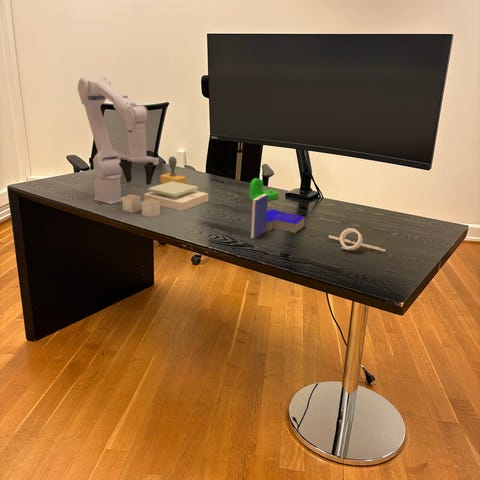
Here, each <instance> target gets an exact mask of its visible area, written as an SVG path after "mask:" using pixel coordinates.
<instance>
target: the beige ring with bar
mask: <svg viewBox="0 0 480 480" xmlns="http://www.w3.org/2000/svg"><path fill="white" fill-rule="evenodd" d="M350 233H355V234H357V236H358V237H357V239H358V240H357V242H356V241H354V240H353V241H351V240H350V239H347V238H346V236H347V235H348V234H350ZM328 238H329V239H333V240H336V241H339V243H340V244H341V247H340V248H341V249H344V250H347V251H355V250H357V249H359V248H360V247H365V248H367V249H373V250H377V251H378V250H379V251H380V252H383V253H385V252H386V249H384V248H380V247H379V246H374V245H371V244H366V243H363V235H362V234H361V232H359V231H358V230H357V229H355V228H351V227H349V228H345V229H344V230H343V231H342V232H341V233H340V235H339V236H333V235H330V234H329V235H328ZM345 238H346V239H345ZM346 243H348V244H350V243H351V244H352V245H351V246H348V245H346Z"/></svg>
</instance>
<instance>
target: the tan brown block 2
mask: <svg viewBox="0 0 480 480" xmlns="http://www.w3.org/2000/svg"><path fill="white" fill-rule="evenodd" d="M159 215H161V206H160V201H157V200H153V199H148V200H145V201H144V200H142V201H141V216H144V217H146V218H147V217H148V218H154V217H158V216H159Z"/></svg>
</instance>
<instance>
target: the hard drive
mask: <svg viewBox="0 0 480 480" xmlns="http://www.w3.org/2000/svg"><path fill="white" fill-rule="evenodd" d="M267 199H268V194H263V195H261V196H259V197H257V198H255V199H253V200H252V209H251V233H250V238H251V239H257V238H258V237H260V236H261V235H263V234H265V233H266V232H267V230H266V216H267V211H268V201H267Z"/></svg>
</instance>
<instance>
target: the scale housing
mask: <svg viewBox="0 0 480 480" xmlns="http://www.w3.org/2000/svg"><path fill="white" fill-rule="evenodd" d="M148 199H153V200H157V201H160V207H164V208H168V209H172V210H176V211H180V212H183V211H186V210H188V209H191V208H194V207H196V206H199V205H202V204H204V203H207V202H209V193H208V192H202V191H198V190H195V191H192V192H189V193H186V194H183V195H180V196H177V197H172V196H168V195H164V194H159V193H155V192H150V191H148V192H146V193H144V194H143V201H145V200H148Z"/></svg>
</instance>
